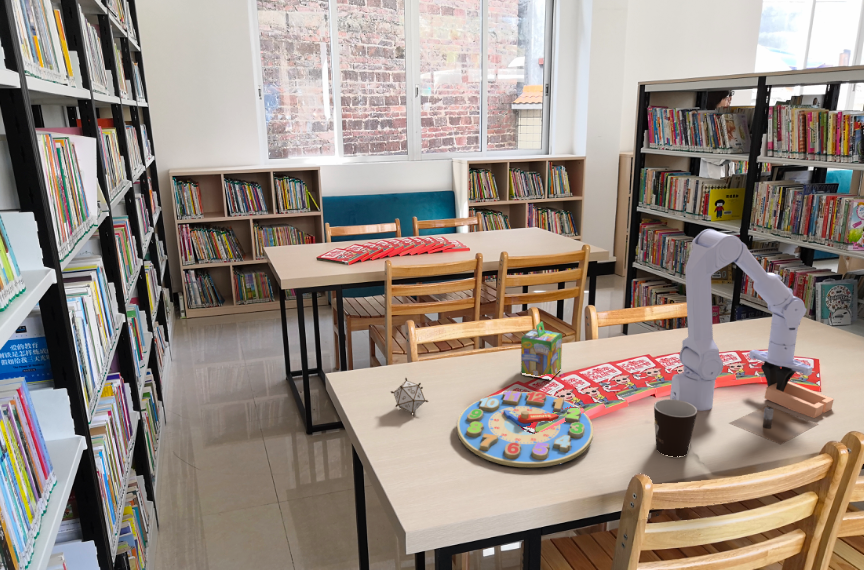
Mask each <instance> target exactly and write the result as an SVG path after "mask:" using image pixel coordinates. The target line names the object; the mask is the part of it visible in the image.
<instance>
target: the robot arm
mask: <svg viewBox="0 0 864 570" xmlns="http://www.w3.org/2000/svg"><path fill="white" fill-rule="evenodd" d="M691 245H692V249H691V252H690V254H689V256H688V260H687V262H686V265H685V267H684V268H685V291H686V292H685V293H686V295H685V296H686V312H687V313H686V314H687V318H686V319H687V337H686V338H684V339H683V340H682V342H681V343H682V344H681V345H682V346H681V350H680V352H679V355H678V356H679V361H680V363H681V364H682V365H683V369H682V370H683V372H681V373H678V374H673V376H672V378H671V386H670V394H669V395H670V397H669V399H674V400H680V401H684V402H687V403H690V404H691V405H693V406H694V407H695V408H696V409H697V411H701V412H702V411H709V410H711V409H713V405H714V397H715V396H714V393H715V385H716V380H717V378H718V377H719V376H721V374H722V373H723V369H724V363H723V362H724V361H723V360H722V358H721V356H720V350H719V347H718V345H717V343H716V342H715V340H714V335H713V334H714V333H713V303H712V299H713V297H712V275H714V273H716V272H717V271H719V270H721V269H722V268H725V267H727V266H728V265H730V264H731V263H735V265H737V266H738V268H740V269H741V270H742V271H743V273H745V274H746V275H747V276H748V277H749V278H750V279H751V280H752V281H753V285H752V287H753V290H754V291H755V292H756V293H757V294H758V295H759V296H760V297H761V299H763V301H764V302H765V303H766V304H767V305H766V306H767V309H768V311H770V312H771V313H772V316H771V322H770V323H771V324H770V330H769V331H770V332H769V339H768V347H767V351H762V350H758V349H752V350H749V354H748V355H749V357H748V358H749V359H751V360H754V359H755V360H758V361H761V362H763V364H762V365H761V366H760V367H761V370H762V372H763V375H764V376H765V380H766V384H767V387H769V386H771V385H773V384H775V383H777V386H776V389H777V390H780V391H782V392H784V389H785V387H786V385H787V383H788V381H789V382H790V380H791V378H793V376H794V375H795V374H796V373H801V374H802V375H803V376H806V377H807V376H810V375H812V373H813V365H812V366H811V365H808V364H806V363H805V362H804V363H803V362H802V361H799V360H797V359H795V358H794V357H795V351H796V344H797V336H798V330H799V326H800V324H801V321H802V319H803V318H804V316H805V315H806V313H807V311H808V310H807V309H808V308H806V306H805V303H804V301H803V299H801V298H799V297H798V296H794V293H793V292H794V291H793V289H792V288H790V287H788V286H786V284H785V283H784V282H783V281H782V279H783V277H782V276H781V275H780V274H778V273H773V272H766V270H765V269H764V267H763V266H762V265H761V264H760V262H759V261H758V260H757V259H756V257H755V256H754V255H753V254H752V252H751V251H750V250H749V249H748V246H747V245H746V243H744V242H742V241H741V239H740V238H739V237H738V236H737V235H732V234H727V233H724V232H721V231H717V230H715V229H713V228H707V229H704V230H702V231H700V233H698V234H697V235H696V236H695V238H693V240H692V244H691Z"/></svg>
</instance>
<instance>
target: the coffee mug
mask: <svg viewBox="0 0 864 570" xmlns="http://www.w3.org/2000/svg"><path fill="white" fill-rule="evenodd" d="M653 408H654V409H653V413H654V432H655V449H656V450H658V451H659V452H660V453H659V452H658V451H657V452H658V453H659V454H661V453H662V454H664V455H663V456H665V455H668V456H673V457H677V456H678V457H679V456H684V455H686V454H687V455H688V452H689V450H690V449H689V448H690V444H691V440H692V435H693V431H694V426H695V423H696V418H697V415H698V414H697V413H698V410H697V409H696V408H695V407H694V406H693V405H691V404H690V403H687V402H684V401H680V400H674V399H670V398H666V399H660V400H656V401H655V402H654V404H653ZM662 454H661V455H662ZM687 455H686V456H687ZM668 456H667V457H668ZM673 457H672V458H673ZM684 457H685V456H684Z"/></svg>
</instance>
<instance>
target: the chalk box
mask: <svg viewBox="0 0 864 570" xmlns="http://www.w3.org/2000/svg"><path fill="white" fill-rule="evenodd" d="M535 327H536V329H535V328H533V329H530V330H529V331H528V332H527V333H525V334H524V335H522V336H521V337H520V341H521V342H520V343H521V345H520V346H521V347H520V349H521V353H520V355H521V357H520V358H521V359H520V360H521V361H520V367H521V369H520V373H521V372H522V373H526V374H531V375H535V376H541V375H545V374H553V375H556V374H557V372H558V371H559V370H560V369H561V370H562V357H563V356H562V353H563V352H562V351H563V333H560V332H554V331H551V330H545V327H544V321H540V322H538V323H537V324H536V325H535ZM540 328H541V329H540ZM557 375H558V374H557ZM557 375H556V376H557Z"/></svg>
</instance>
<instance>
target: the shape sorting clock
mask: <svg viewBox="0 0 864 570" xmlns="http://www.w3.org/2000/svg"><path fill="white" fill-rule="evenodd" d="M570 406H571V407H573V406H576V405H575V404H573V403H571V402H570V401H567V400H565V398H564V397H557V396H553V395H549V394H546V393H545V392H541V391H529V392H528V391H514V390H507V391H503V393H498V394H494V395H490V396H485V397H483V398H480V399H479V400H476V401H474V402H472V403H471V404H469V405H468V406H467V407H465V408H464V409H463V410H462V412H461V413H460V414H459V416H458V419H457V423H456V425H457V426H456V429H457V434H458V438H459V439H460V441H461V443H462V444H463V445H464V447H466V448H467V449H468V450H469V451H471V452H472V453H474V454H475V455H477V456H479V457H480V458H482V459H485V460H487V461H490V462H492V463H497V464H499V465H503V466H509V467H518V468H544V467H550V466H555V465H561V464H560V463H562V464H564V463H567V462H569V461H571V460H572V461H573V460H574V459H576V458H578V457H579V456H580V455H582V454H583V453H585V451H586V450H587V449H588V448H589V446H590V445H591V443H592V441H593V438H594V426H593V423H592V421H591V419H590V417H589V416H588V415H587V414H586V413H585V412H584V413H582V414H581V411H580V409H581V408H579V407H578V408H579V409H578V408H570V409H568V410H567V414H568V415H566V416H565V421H566V422H564V423H562V424H559V425H557V426H554V427H553V428H550V429H548V430H545V431H543V432H539V433H535V434H532V433H529V432H525V431H524V430H522V428H521V427H526V426H530V425H531V423H533V422H541V421H553V420H556V419H558V418H559V415H557V414H552V413H554V412H561V409H562V408H563V409H565V408H567V407H568V408H569V407H570ZM553 411H554V412H553ZM518 425H519V426H518ZM520 426H521V427H520Z"/></svg>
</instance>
